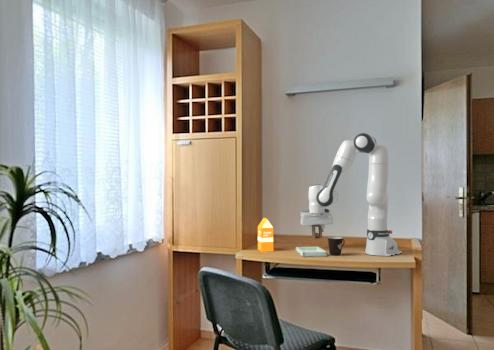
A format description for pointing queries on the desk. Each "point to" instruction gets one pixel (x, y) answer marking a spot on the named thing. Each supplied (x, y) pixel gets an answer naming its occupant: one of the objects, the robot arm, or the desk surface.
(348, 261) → the desk surface
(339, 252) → the coffee mug
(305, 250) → the tray
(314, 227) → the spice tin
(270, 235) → the orange juice
